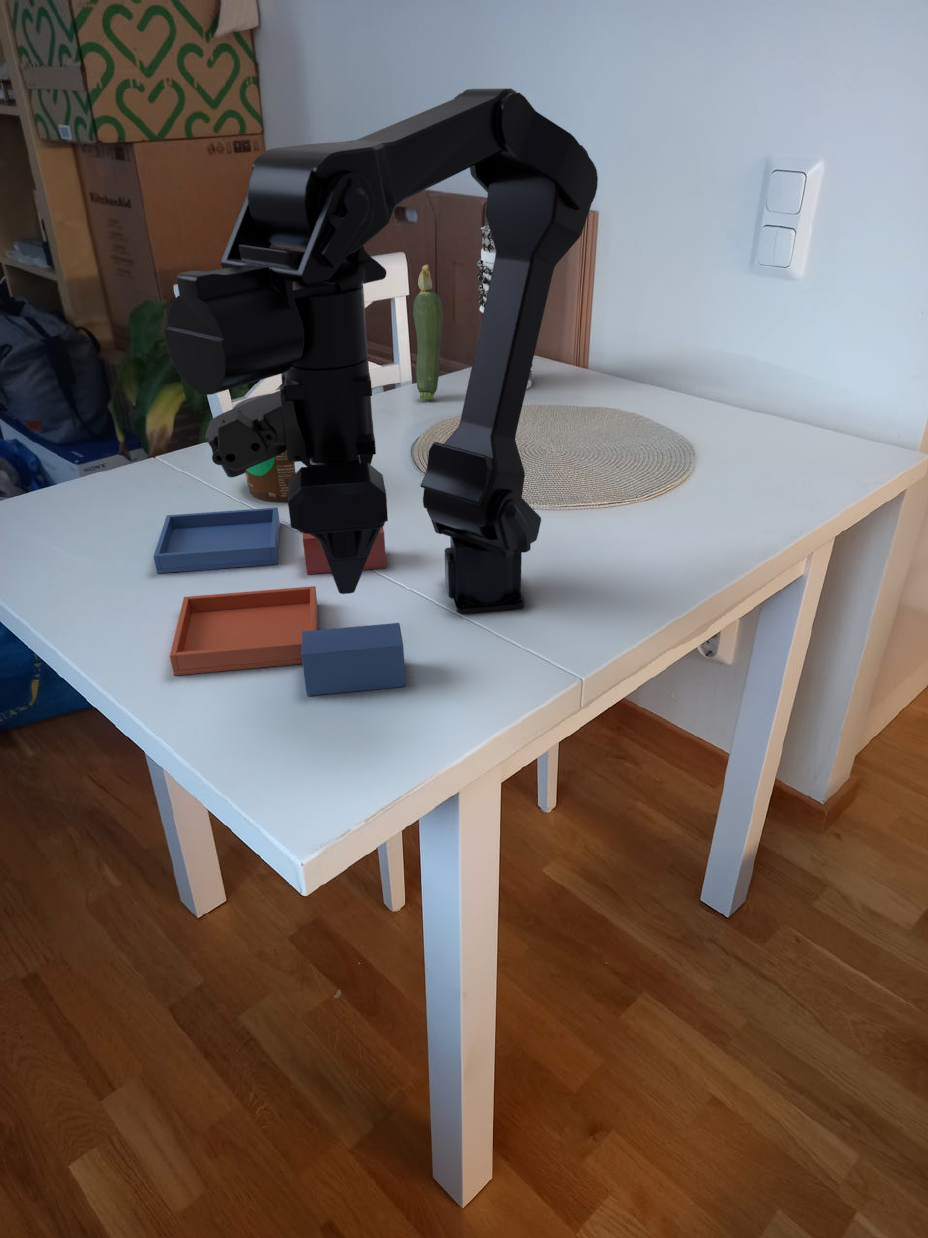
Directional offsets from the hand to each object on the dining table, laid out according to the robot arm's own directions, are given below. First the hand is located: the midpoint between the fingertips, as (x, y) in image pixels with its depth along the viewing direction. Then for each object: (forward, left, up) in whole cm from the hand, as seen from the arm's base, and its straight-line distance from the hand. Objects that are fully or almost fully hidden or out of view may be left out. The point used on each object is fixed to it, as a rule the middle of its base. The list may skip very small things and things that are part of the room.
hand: (344, 563), depth 68 cm
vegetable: (-15, -74, -11) cm, 76 cm away
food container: (+9, -42, -11) cm, 44 cm away
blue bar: (0, 0, -11) cm, 11 cm away
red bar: (0, -21, -11) cm, 23 cm away
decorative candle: (-28, -80, -11) cm, 85 cm away
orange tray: (+9, -8, -11) cm, 16 cm away
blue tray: (+13, -27, -11) cm, 32 cm away
